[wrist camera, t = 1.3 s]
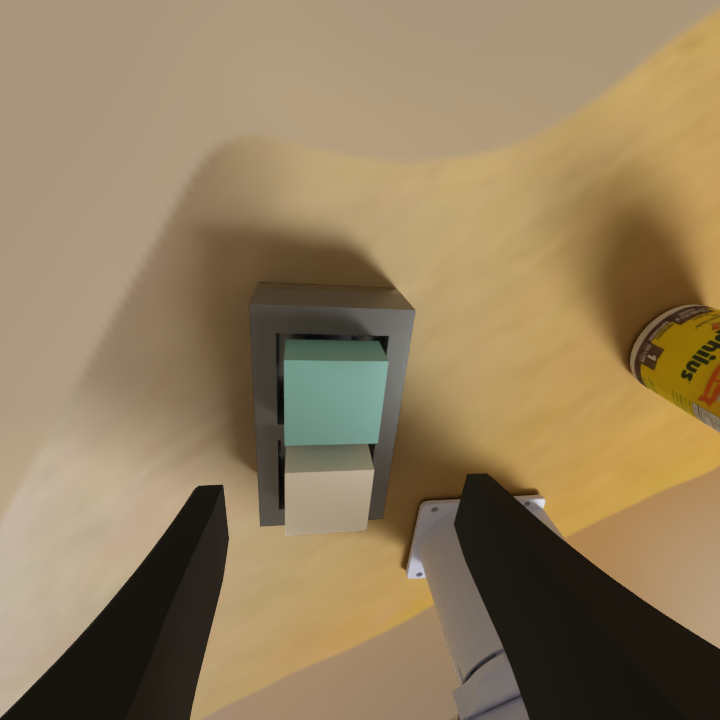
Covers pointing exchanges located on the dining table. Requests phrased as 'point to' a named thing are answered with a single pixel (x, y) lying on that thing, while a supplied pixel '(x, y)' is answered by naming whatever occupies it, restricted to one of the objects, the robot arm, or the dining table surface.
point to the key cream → (327, 488)
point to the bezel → (322, 316)
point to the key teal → (333, 391)
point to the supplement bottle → (683, 360)
